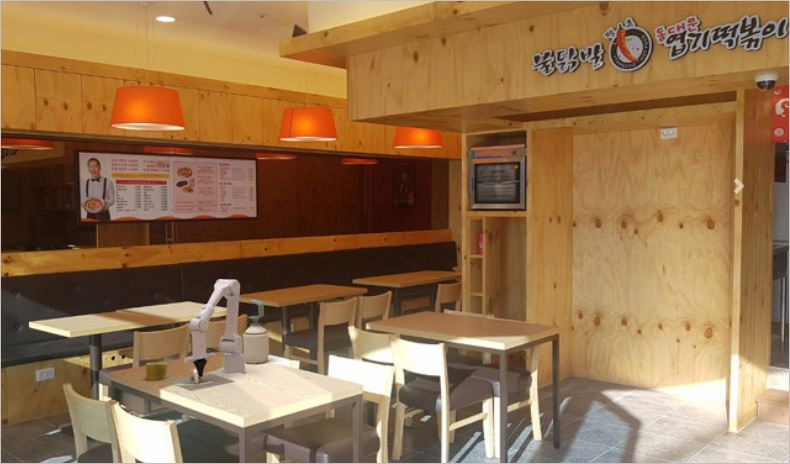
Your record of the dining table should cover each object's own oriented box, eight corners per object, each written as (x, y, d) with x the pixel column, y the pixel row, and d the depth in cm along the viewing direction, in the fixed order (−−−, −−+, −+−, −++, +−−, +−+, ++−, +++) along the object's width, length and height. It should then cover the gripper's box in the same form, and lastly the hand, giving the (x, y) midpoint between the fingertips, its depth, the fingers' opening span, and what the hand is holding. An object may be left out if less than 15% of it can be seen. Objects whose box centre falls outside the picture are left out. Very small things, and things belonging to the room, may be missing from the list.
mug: (162, 379, 310) (158, 357, 312) (143, 386, 312) (138, 364, 314) (178, 378, 321) (173, 357, 323) (159, 384, 323) (154, 363, 326)
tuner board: (210, 375, 324) (210, 373, 324) (235, 383, 308) (235, 381, 308) (166, 384, 309) (166, 381, 309) (190, 393, 293) (190, 390, 293)
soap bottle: (251, 358, 358) (249, 297, 357) (273, 359, 355) (271, 298, 354) (239, 364, 346) (237, 301, 345) (262, 365, 343) (260, 301, 342)
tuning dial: (190, 378, 315) (190, 368, 314) (200, 377, 316) (200, 367, 316) (191, 384, 303) (191, 374, 302) (202, 383, 304) (201, 373, 304)
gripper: (208, 341, 315) (209, 371, 316) (179, 347, 305) (180, 378, 305) (217, 343, 311) (218, 374, 311) (188, 349, 300) (189, 380, 301)
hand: (200, 376), depth 308 cm, fingers closed, pressing on tuning dial
